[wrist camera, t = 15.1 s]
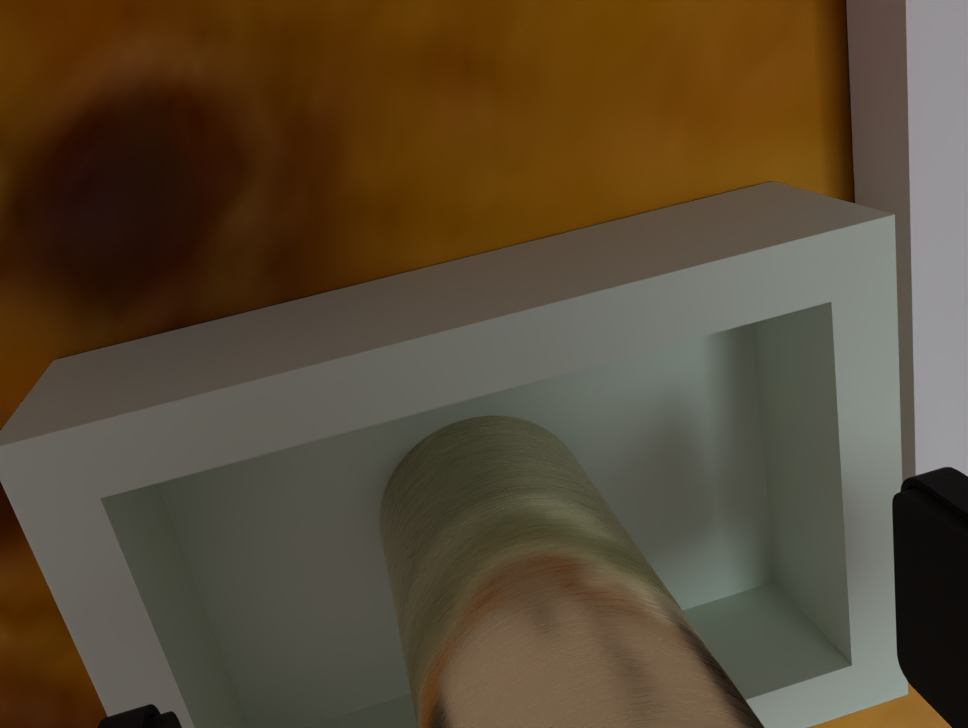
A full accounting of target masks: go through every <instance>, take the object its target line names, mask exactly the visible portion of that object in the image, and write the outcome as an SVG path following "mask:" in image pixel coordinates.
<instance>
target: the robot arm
mask: <svg viewBox="0 0 968 728" xmlns="http://www.w3.org/2000/svg"><path fill="white" fill-rule="evenodd" d="M892 518H893V549H894V580H895V611H896V642H897V658H898V662H899V666H900V668H901V670H902V673H903V675H904V676H905V678H906V679H907V681H908V682H909V683H910V685H911V686H912V687H913V688H914V689H915V690H916V691H917V692H918V693H919V694H920V695H921V696H922V697H923V698H924V699H925V700H926V701H927V702H928V703H929V704H930V705H931V706H932V707H933V708H934V709H935V710H936V711H937V712H938V713H939V714H940V716H941V717H942V718H943V719H944V720H945V721H946V722H947V723H948V724H949V725H950V726H951V727H952V728H968V476H966V475H965V474H963V473H962V472H960V471H958V470H956V469H954V468H952V467H943V468H940V469H936V470H933V471H930V472H926V473H923V474H919V475H916V476H913V477H909V478H907V479H906V480H904V481H903V483H902V485H901V491H900V492H899V493H897V494H895V495H894V497H893V500H892ZM98 728H182V726H181V724H180V722H179V719H178V718H177V716H176V714H175V713H174V712H172V711H169V712H166V713H163V714H160V712H159V710H158V708H157V707H156V706H155V705H153V704H149V705H145V706H142V707H139V708H135V709H132V710H129V711H125V712H122V713H119V714H115V715H112V716H109V717H105V718H104V719H102V720H101V722H100V724H99V726H98Z"/></svg>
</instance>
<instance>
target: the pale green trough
mask: <svg viewBox="0 0 968 728" xmlns="http://www.w3.org/2000/svg"><path fill="white" fill-rule="evenodd" d="M490 415H493V416H509V417H515V418H520V419H523V420H527V421H530V422H532V423H535V424H537V425H539V426H541V427H543V428H545V429H546V430H548V431H550V432H551V433H553V434H554V435H555V436H556V437H558V438H559V439H560V440H561V441H562V442H563V443H564V444H565V445H566V446H567V447H568V449H569V450H570V451H571V452H572V454H573V455H574V457H575V458H576V459H577V461H578V462H579V464H580V465H581V467H582V468H583V469H584V471H585V472H586V474H587V475H588V477H589V478H590V479H591V481H592V482H593V484H594V485H595V486H596V488H597V489H598V491H599V492H600V494H601V495H602V496H603V498H604V499H605V501H606V502H607V504H608V505H609V506H610V508H611V509H612V511H613V512H614V514H615V515H616V516H617V518H618V519H619V521H620V522H621V524H622V525H623V526H624V528H625V529H626V531H627V532H628V534H629V535H630V536H631V538H632V539H633V541H634V542H635V544H636V545H637V546H638V548H639V549H640V551H641V552H642V554H643V555H644V556H645V558H646V559H647V561H648V562H649V564H650V565H651V566H652V568H653V569H654V571H655V572H656V573H657V575H658V576H659V578H660V579H661V581H662V582H663V583H664V585H665V586H666V588H667V589H668V591H669V592H670V593H671V595H672V596H673V598H674V599H675V601H676V602H677V603H678V605H679V606H680V608H681V609H682V611H683V612H684V613H685V615H686V616H687V618H688V619H689V621H690V622H691V623H692V625H693V626H694V628H695V629H696V631H697V632H698V633H699V635H700V636H701V638H702V639H703V641H704V642H705V643H706V645H707V646H708V648H709V649H710V651H711V652H712V653H713V655H714V656H715V658H716V659H717V660H718V662H719V663H720V665H721V666H722V668H723V669H724V670H725V672H726V673H727V675H728V676H729V678H730V679H731V680H732V682H733V683H734V685H735V686H736V688H737V689H738V690H739V692H740V693H741V695H742V696H743V698H744V699H745V700H746V702H747V703H748V705H749V706H750V708H751V709H752V710H753V712H754V713H755V715H756V716H757V718H758V719H759V720H760V722H761V723H762V725H763V726H764V728H808V727H811V726H814V725H817V724H821V723H824V722H827V721H830V720H833V719H836V718H839V717H842V716H845V715H848V714H851V713H854V712H857V711H860V710H863V709H866V708H869V707H872V706H875V705H878V704H881V703H884V702H887V701H890V700H893V699H896V698H899V697H902V696H905V695H908V681H907V679H906V678H905V676H904V675H903V673H902V670H901V668H900V666H899V662H898V658H897V642H896V611H895V580H894V549H893V518H892V500H893V497H894V495H895V494H897V493H899V492H900V491H901V485H902V454H901V418H900V382H899V346H898V310H897V274H896V238H895V214H891V213H888V212H884V211H880V210H877V209H873V208H869V207H866V206H862V205H859V204H855V203H851V202H848V201H844V200H840V199H837V198H833V197H829V196H826V195H822V194H819V193H815V192H811V191H808V190H804V189H800V188H797V187H793V186H790V185H786V184H782V183H779V182H775V181H770V182H766V183H762V184H758V185H754V186H750V187H746V188H742V189H738V190H734V191H730V192H726V193H722V194H718V195H714V196H710V197H706V198H702V199H698V200H694V201H690V202H686V203H682V204H678V205H674V206H670V207H666V208H662V209H658V210H654V211H650V212H646V213H642V214H638V215H634V216H630V217H626V218H622V219H618V220H614V221H610V222H606V223H602V224H598V225H594V226H590V227H586V228H582V229H578V230H574V231H570V232H566V233H562V234H558V235H554V236H550V237H546V238H542V239H538V240H534V241H530V242H526V243H522V244H518V245H514V246H510V247H506V248H502V249H498V250H494V251H490V252H486V253H482V254H478V255H474V256H470V257H466V258H462V259H458V260H454V261H450V262H446V263H442V264H438V265H434V266H430V267H426V268H422V269H418V270H414V271H410V272H406V273H402V274H397V275H393V276H389V277H385V278H381V279H377V280H373V281H369V282H365V283H361V284H357V285H353V286H349V287H345V288H341V289H337V290H333V291H329V292H325V293H321V294H317V295H313V296H309V297H305V298H301V299H297V300H293V301H289V302H285V303H281V304H277V305H273V306H269V307H265V308H261V309H257V310H253V311H249V312H245V313H241V314H237V315H233V316H229V317H225V318H221V319H217V320H213V321H209V322H205V323H201V324H197V325H193V326H189V327H185V328H181V329H177V330H173V331H169V332H165V333H161V334H157V335H153V336H149V337H145V338H141V339H137V340H133V341H129V342H125V343H121V344H117V345H113V346H109V347H105V348H101V349H97V350H93V351H89V352H85V353H81V354H77V355H73V356H69V357H65V358H61V359H57V360H53V361H52V363H51V364H50V365H49V367H48V368H47V369H46V371H45V372H44V373H43V375H42V376H41V377H40V379H39V380H38V381H37V383H36V384H35V385H34V387H33V388H32V389H31V391H30V392H29V393H28V395H27V396H26V397H25V399H24V400H23V401H22V403H21V404H20V405H19V407H18V408H17V409H16V411H15V412H14V413H13V415H12V416H11V417H10V419H9V420H8V421H7V423H6V424H5V425H4V427H3V428H2V429H1V431H0V481H1V484H2V486H3V488H4V490H5V492H6V495H7V497H8V499H9V501H10V503H11V506H12V508H13V510H14V512H15V514H16V517H17V519H18V521H19V523H20V525H21V527H22V530H23V532H24V534H25V536H26V538H27V541H28V543H29V545H30V547H31V549H32V552H33V554H34V556H35V558H36V560H37V563H38V565H39V567H40V569H41V571H42V574H43V576H44V578H45V580H46V582H47V584H48V587H49V589H50V591H51V593H52V595H53V598H54V600H55V602H56V604H57V606H58V609H59V611H60V613H61V615H62V617H63V620H64V622H65V624H66V626H67V628H68V631H69V633H70V635H71V637H72V639H73V641H74V644H75V646H76V648H77V650H78V652H79V655H80V657H81V659H82V661H83V663H84V666H85V668H86V670H87V672H88V674H89V677H90V679H91V681H92V683H93V685H94V687H95V690H96V692H97V694H98V696H99V698H100V701H101V703H102V705H103V707H104V709H105V712H106V714H107V716H108V717H109V716H112V715H115V714H119V713H122V712H125V711H129V710H132V709H135V708H139V707H142V706H145V705H149V704H153V705H155V706H156V707H157V708H158V710H159V712H160V714H163V713H166V712H169V711H172V712H174V713H175V714H176V716H177V718H178V719H179V722H180V724H181V726H182V728H417V723H416V717H415V712H414V707H413V702H412V696H411V691H410V686H409V681H408V675H407V670H406V665H405V659H404V654H403V649H402V644H401V638H400V633H399V628H398V623H397V617H396V612H395V607H394V602H393V596H392V591H391V586H390V581H389V575H388V570H387V565H386V560H385V554H384V549H383V544H382V539H381V533H380V520H379V518H380V507H381V502H382V498H383V494H384V491H385V489H386V486H387V483H388V481H389V479H390V477H391V476H392V474H393V472H394V470H395V469H396V467H397V466H398V464H399V463H400V462H401V460H402V459H403V458H404V457H405V456H406V455H407V453H408V452H409V451H410V450H411V449H412V448H413V447H414V446H416V445H417V444H418V443H419V442H421V441H422V440H423V439H424V438H426V437H427V436H429V435H430V434H432V433H434V432H435V431H437V430H439V429H441V428H443V427H445V426H447V425H449V424H452V423H455V422H458V421H461V420H464V419H469V418H473V417H480V416H490Z"/></svg>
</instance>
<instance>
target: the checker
mask: <svg viewBox="0 0 968 728" xmlns="http://www.w3.org/2000/svg"><path fill="white" fill-rule="evenodd" d="M846 8H847V31H848V54H849V76H850V99H851V121H852V144H853V166H854V189H855V204H859V205H862V206H866V207H869V208H873V209H877V210H880V211H884V212H888V213H891V214H895V238H896V274H897V310H898V346H899V382H900V418H901V454H902V483H903V481H904V480H906V479H907V478H909V477H913V476H916V475H919V474H923V473H926V472H930V471H933V470H936V469H940V468H943V467H952V468H954V469H956V470H958V471H960V472H962V473H963V474H965V475H966V476H968V0H846Z"/></svg>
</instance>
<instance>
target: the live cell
mask: <svg viewBox="0 0 968 728" xmlns="http://www.w3.org/2000/svg"><path fill="white" fill-rule="evenodd" d="M379 520H380V533H381V539H382V544H383V549H384V554H385V560H386V565H387V570H388V575H389V581H390V586H391V591H392V596H393V602H394V607H395V612H396V617H397V623H398V628H399V633H400V638H401V644H402V649H403V654H404V659H405V665H406V670H407V675H408V681H409V686H410V691H411V696H412V702H413V707H414V712H415V717H416V723H417V728H764V726H763V725H762V723H761V722H760V720H759V719H758V718H757V716H756V715H755V713H754V712H753V710H752V709H751V708H750V706H749V705H748V703H747V702H746V700H745V699H744V698H743V696H742V695H741V693H740V692H739V690H738V689H737V688H736V686H735V685H734V683H733V682H732V680H731V679H730V678H729V676H728V675H727V673H726V672H725V670H724V669H723V668H722V666H721V665H720V663H719V662H718V660H717V659H716V658H715V656H714V655H713V653H712V652H711V651H710V649H709V648H708V646H707V645H706V643H705V642H704V641H703V639H702V638H701V636H700V635H699V633H698V632H697V631H696V629H695V628H694V626H693V625H692V623H691V622H690V621H689V619H688V618H687V616H686V615H685V613H684V612H683V611H682V609H681V608H680V606H679V605H678V603H677V602H676V601H675V599H674V598H673V596H672V595H671V593H670V592H669V591H668V589H667V588H666V586H665V585H664V583H663V582H662V581H661V579H660V578H659V576H658V575H657V573H656V572H655V571H654V569H653V568H652V566H651V565H650V564H649V562H648V561H647V559H646V558H645V556H644V555H643V554H642V552H641V551H640V549H639V548H638V546H637V545H636V544H635V542H634V541H633V539H632V538H631V536H630V535H629V534H628V532H627V531H626V529H625V528H624V526H623V525H622V524H621V522H620V521H619V519H618V518H617V516H616V515H615V514H614V512H613V511H612V509H611V508H610V506H609V505H608V504H607V502H606V501H605V499H604V498H603V496H602V495H601V494H600V492H599V491H598V489H597V488H596V486H595V485H594V484H593V482H592V481H591V479H590V478H589V477H588V475H587V474H586V472H585V471H584V469H583V468H582V467H581V465H580V464H579V462H578V461H577V459H576V458H575V457H574V455H573V454H572V452H571V451H570V450H569V449H568V447H567V446H566V445H565V444H564V443H563V442H562V441H561V440H560V439H559V438H558V437H556V436H555V435H554V434H553V433H551V432H550V431H548V430H546V429H545V428H543V427H541V426H539V425H537V424H535V423H532V422H530V421H527V420H523V419H520V418H515V417H509V416H493V415H490V416H480V417H473V418H469V419H464V420H461V421H458V422H455V423H452V424H449V425H447V426H445V427H443V428H441V429H439V430H437V431H435V432H434V433H432V434H430V435H429V436H427V437H426V438H424V439H423V440H422V441H421V442H419V443H418V444H417V445H416V446H414V447H413V448H412V449H411V450H410V451H409V452H408V453H407V455H406V456H405V457H404V458H403V459H402V460H401V462H400V463H399V464H398V466H397V467H396V469H395V470H394V472H393V474H392V476H391V477H390V479H389V481H388V483H387V486H386V489H385V491H384V494H383V498H382V502H381V507H380V518H379Z"/></svg>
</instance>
